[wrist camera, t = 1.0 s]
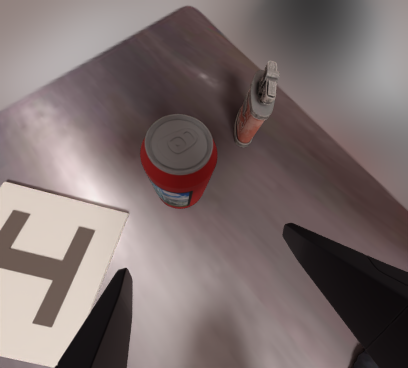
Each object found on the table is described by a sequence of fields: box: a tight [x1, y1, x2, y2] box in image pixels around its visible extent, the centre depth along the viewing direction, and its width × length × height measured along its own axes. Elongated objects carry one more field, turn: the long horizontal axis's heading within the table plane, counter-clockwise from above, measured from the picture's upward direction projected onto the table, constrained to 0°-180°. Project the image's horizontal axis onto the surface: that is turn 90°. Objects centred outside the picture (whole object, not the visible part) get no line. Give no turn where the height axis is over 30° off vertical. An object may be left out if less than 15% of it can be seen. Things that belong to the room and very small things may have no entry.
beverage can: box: [140, 114, 217, 209], centre depth 19 cm, size 7×7×12 cm
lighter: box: [234, 61, 280, 147], centre depth 24 cm, size 8×3×10 cm, turn 170°
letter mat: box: [0, 182, 129, 368], centre depth 19 cm, size 16×16×1 cm
